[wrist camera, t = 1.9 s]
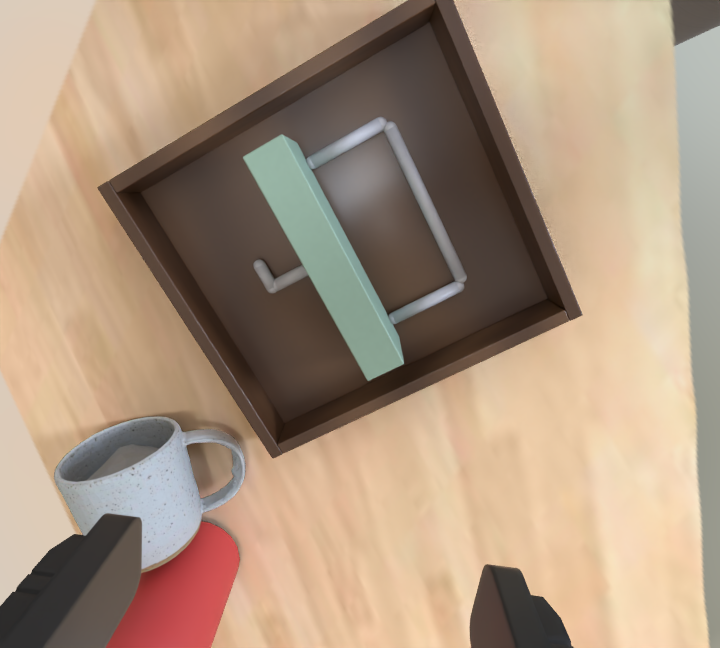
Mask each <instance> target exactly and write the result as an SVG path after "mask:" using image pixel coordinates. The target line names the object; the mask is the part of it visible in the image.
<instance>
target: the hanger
mask: <svg viewBox="0 0 720 648" xmlns="http://www.w3.org/2000/svg"><path fill="white" fill-rule="evenodd" d="M382 131H384V133H385V135H386V137H387V139H388V141H389V143H390V145H391V147H392V149H393V152H394V154H395V156H396V158H397V160H398V162H399V164H400V166H401V168H402V170H403V173H404V175H405V177H406V179H407V181H408V183H409V185H410V187H411V189H412V191H413V194H414V196H415V198H416V200H417V202H418V204H419V206H420V208H421V210H422V212H423V214H424V217H425V219H426V221H427V223H428V225H429V227H430V229H431V231H432V233H433V235H434V238H435V240H436V242H437V244H438V246H439V248H440V250H441V252H442V254H443V256H444V259H445V261H446V263H447V265H448V267H449V269H450V271H451V273H452V275H453V277H454V279H455V281H454V282H452V283H450V284H448V285H446V286H444V287H442V288H440V289H438V290H436V291H434V292H432V293H430V294H428V295H426V296H424V297H422V298H420V299H418V300H416V301H414V302H412V303H410V304H408V305H406V306H404V307H402V308H400V309H398V310H396V311H394V312H392V313H390V314H389V316H388V314H387V313H386V311H385V309H384V307H383V305H382V303H381V301H380V299H379V297H378V295H377V294H376V292H375V290H374V288H373V286H372V284H371V282H370V280H369V278H368V276H367V275H366V273H365V271H364V269H363V267H362V265H361V263H360V261H359V259H358V257H357V256H356V254H355V252H354V250H353V248H352V246H351V244H350V242H349V240H348V238H347V237H346V235H345V233H344V231H343V229H342V227H341V225H340V223H339V221H338V219H337V217H336V216H335V214H334V212H333V210H332V208H331V206H330V204H329V202H328V200H327V198H326V197H325V195H324V193H323V191H322V189H321V187H320V185H319V183H318V181H317V179H316V178H315V176H314V174H313V172H312V170H311V169H316V168H318V167H320V166H321V165H323V164H325V163H327V162H329V161H330V160H332V159H334V158H336V157H337V156H339V155H341V154H343V153H345V152H346V151H348V150H350V149H352V148H353V147H355V146H357V145H359V144H361V143H362V142H364V141H366V140H368V139H370V138H371V137H373V136H375V135H377V134H378V133H380V132H382ZM243 159H244V161H245V163H246V165H247V166H248V168H249V170H250V172H251V174H252V175H253V177H254V179H255V181H256V182H257V184H258V186H259V188H260V190H261V191H262V193H263V195H264V197H265V199H266V200H267V202H268V204H269V206H270V208H271V209H272V211H273V213H274V215H275V216H276V218H277V220H278V222H279V224H280V225H281V227H282V229H283V231H284V233H285V234H286V236H287V238H288V240H289V242H290V243H291V245H292V247H293V249H294V250H295V252H296V254H297V256H298V258H299V259H300V261H301V263H302V265H300V266H298V267H296V268H295V269H293V270H291V271H289V272H287V273H285V274H283V275H281V276H279V277H278V278H276V279H274V277H273V275H272V273H271V272H270V270H269V268H268V267H267V265H266V263H265V262H264V261H263V260H261V259H258V260H256V261H255V262H254V264H253V267H254V269H255V271H256V273H257V274H258V276H259V278H260V279H261V281H262V283H263V284H264V286H265V288H266V290H267V291H268V292H269V293H276V292H277V291H279V290H282V289H283V288H285V287H287V286H289V285H291V284H293V283H295V282H297V281H299V280H301V279H303V278H304V277H306V276H308V275H309V277H310V279H311V281H312V283H313V284H314V286H315V288H316V290H317V292H318V293H319V295H320V297H321V299H322V301H323V302H324V304H325V306H326V308H327V309H328V311H329V313H330V315H331V317H332V318H333V320H334V322H335V324H336V326H337V327H338V329H339V331H340V333H341V335H342V336H343V338H344V340H345V342H346V343H347V345H348V347H349V349H350V351H351V352H352V354H353V356H354V358H355V360H356V361H357V363H358V365H359V367H360V368H361V370H362V372H363V374H364V376H365V377H366V379H367V381H369V380H371V379H374V378H376V377H378V376H380V375H382V374H384V373H386V372H388V371H390V370H392V369H395V368H397V367H399V366H401V365H403V364H404V360H403V355H402V349H401V344H400V338H399V335H398V334H397V332H396V330H395V328H394V326H393V324H397V323H399V322H401V321H403V320H405V319H407V318H409V317H411V316H413V315H415V314H417V313H419V312H421V311H423V310H425V309H427V308H429V307H432V306H434V305H436V304H438V303H440V302H442V301H444V300H446V299H448V298H450V297H452V296H454V295H456V294H458V293H460V292H462V291H463V289H464V284H463V282H465V281H466V279H467V275H466V273H465V271H464V269H463V266H462V264H461V262H460V260H459V258H458V256H457V254H456V251H455V249H454V247H453V245H452V243H451V241H450V239H449V237H448V234H447V232H446V230H445V228H444V226H443V224H442V222H441V219H440V217H439V215H438V213H437V211H436V209H435V207H434V205H433V202H432V200H431V198H430V196H429V194H428V192H427V190H426V187H425V185H424V183H423V181H422V179H421V177H420V175H419V173H418V170H417V168H416V166H415V164H414V162H413V160H412V158H411V155H410V153H409V151H408V149H407V147H406V145H405V143H404V141H403V138H402V136H401V134H400V132H399V130H398V128H397V126H396V124H395V123H394V122H387V121H386V119H385V118H383V117H378V118H376V119H374V120H372V121H371V122H369V123H367V124H365V125H364V126H362V127H360V128H358V129H356V130H355V131H353V132H351V133H349V134H348V135H346V136H344V137H342V138H341V139H339V140H337V141H335V142H334V143H332V144H330V145H328V146H327V147H325V148H323V149H321V150H319V151H318V152H316V153H314V154H312V155H311V156H309V157H308V158H307V160H306V159H305V157H304V155H303V153H302V151H301V149H300V147H299V145H298V143H297V142H295V141H293V140H291V139H289V138H288V137H286V136H284V135H282V134H281V135H279V136H278V137H276V138H274V139H272V140H271V141H269V142H267V143H266V144H264V145H262V146H260V147H259V148H257V149H255V150H254V151H252V152H250V153H248V154H247V155H245V156H243Z"/></svg>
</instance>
